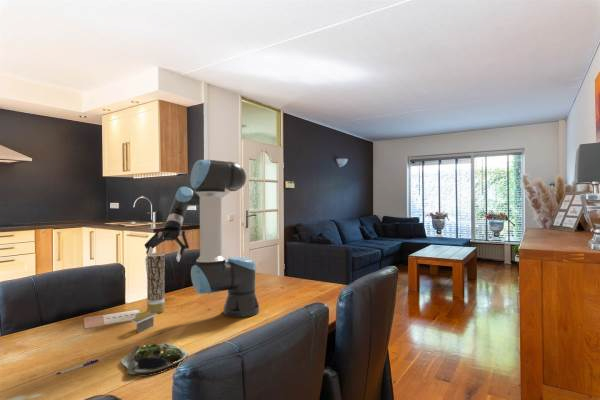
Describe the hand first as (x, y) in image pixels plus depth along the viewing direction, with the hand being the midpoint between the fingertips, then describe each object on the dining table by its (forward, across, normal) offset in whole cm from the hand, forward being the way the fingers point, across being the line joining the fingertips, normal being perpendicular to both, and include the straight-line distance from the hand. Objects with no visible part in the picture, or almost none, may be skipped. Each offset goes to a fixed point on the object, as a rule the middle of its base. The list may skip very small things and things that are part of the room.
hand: (162, 260), depth 155 cm
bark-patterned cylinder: (+21, 0, -9) cm, 23 cm away
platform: (+35, -4, +5) cm, 36 cm away
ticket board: (+27, +13, -3) cm, 30 cm away
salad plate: (+54, -18, +24) cm, 61 cm away
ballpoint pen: (+56, +3, +26) cm, 61 cm away
